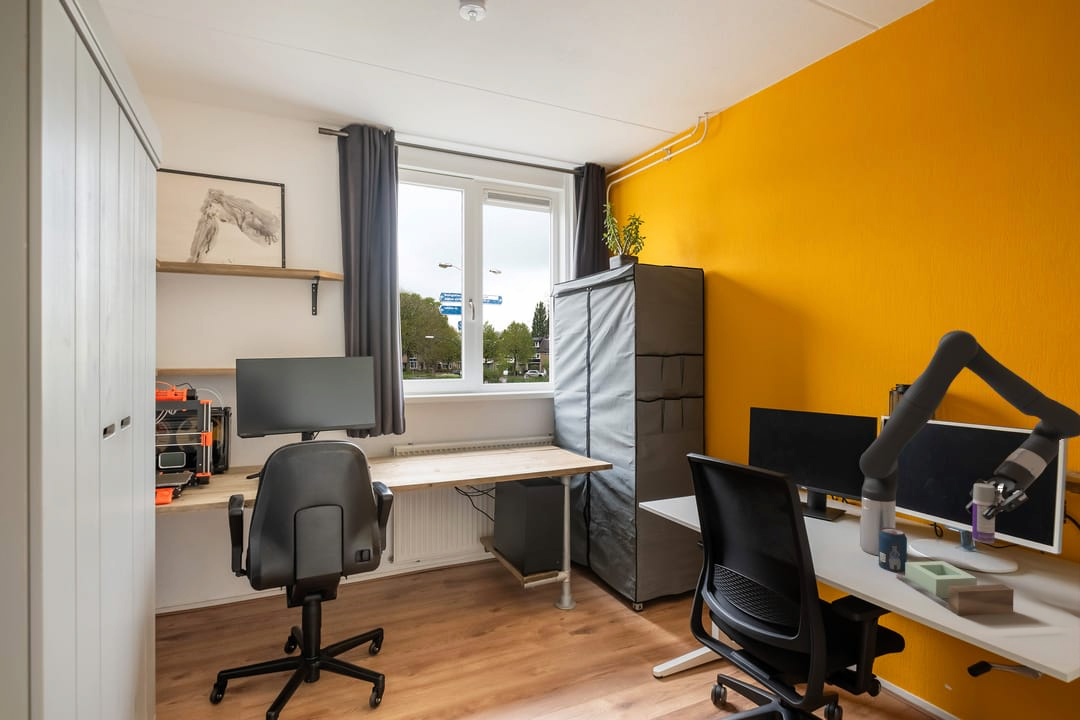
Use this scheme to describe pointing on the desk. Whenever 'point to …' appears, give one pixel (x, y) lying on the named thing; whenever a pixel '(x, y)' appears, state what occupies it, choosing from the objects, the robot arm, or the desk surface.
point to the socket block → (937, 576)
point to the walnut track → (972, 598)
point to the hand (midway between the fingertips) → (977, 514)
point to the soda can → (892, 549)
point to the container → (981, 501)
